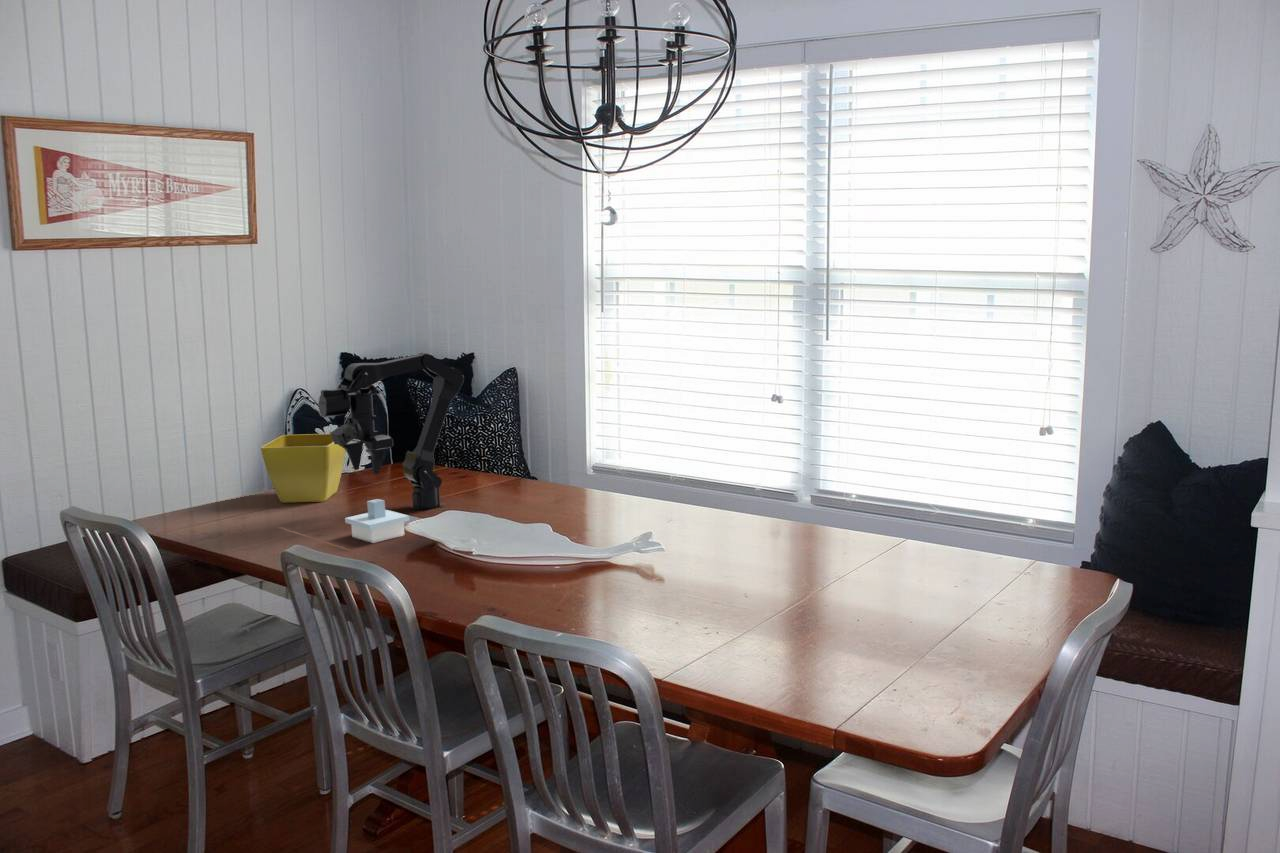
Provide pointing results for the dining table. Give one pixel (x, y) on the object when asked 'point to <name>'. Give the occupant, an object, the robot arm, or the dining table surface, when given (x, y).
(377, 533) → the white open box
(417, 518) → the mat
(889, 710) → the dining table surface
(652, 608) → the dining table surface
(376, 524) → the lid
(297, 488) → the flower pot
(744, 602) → the dining table surface
